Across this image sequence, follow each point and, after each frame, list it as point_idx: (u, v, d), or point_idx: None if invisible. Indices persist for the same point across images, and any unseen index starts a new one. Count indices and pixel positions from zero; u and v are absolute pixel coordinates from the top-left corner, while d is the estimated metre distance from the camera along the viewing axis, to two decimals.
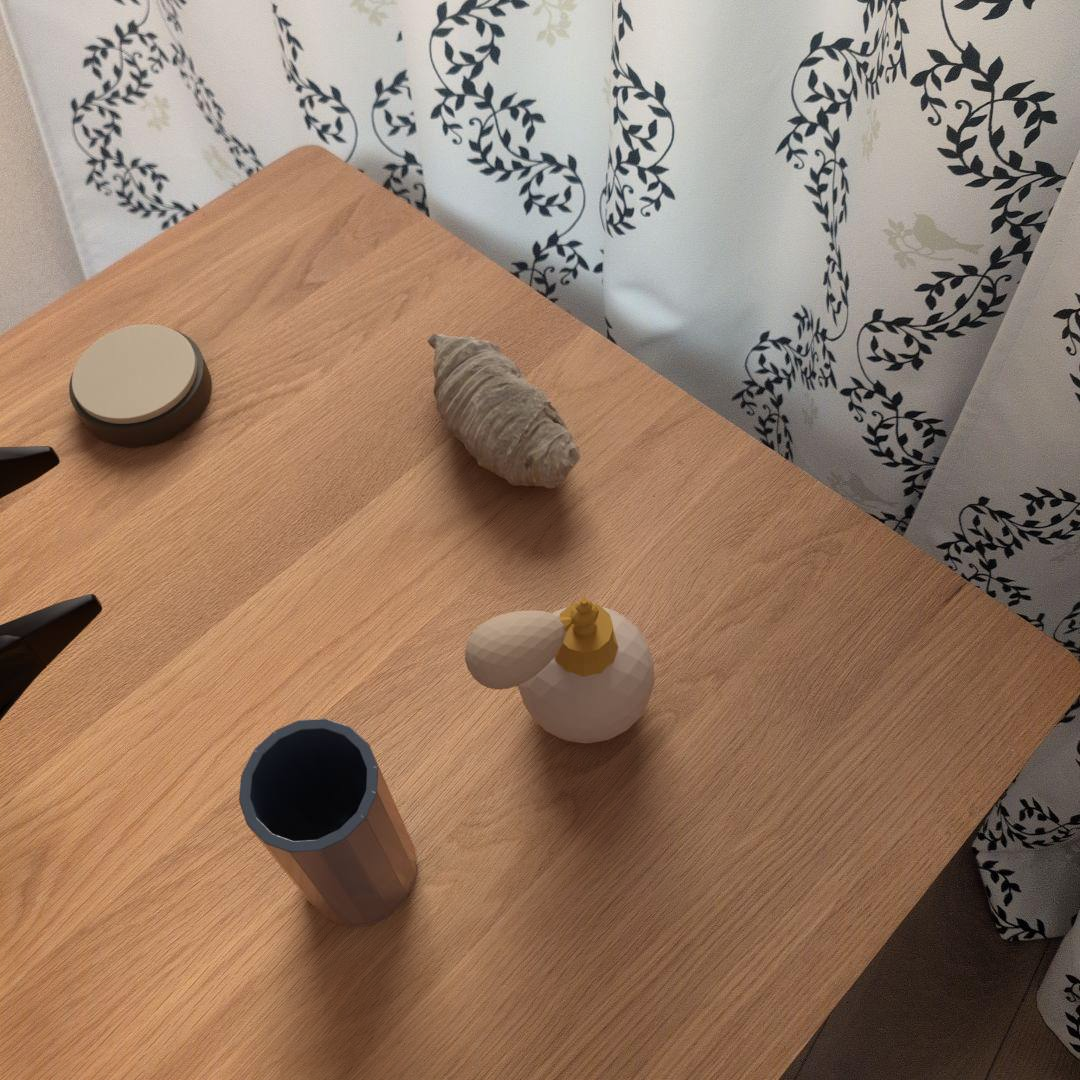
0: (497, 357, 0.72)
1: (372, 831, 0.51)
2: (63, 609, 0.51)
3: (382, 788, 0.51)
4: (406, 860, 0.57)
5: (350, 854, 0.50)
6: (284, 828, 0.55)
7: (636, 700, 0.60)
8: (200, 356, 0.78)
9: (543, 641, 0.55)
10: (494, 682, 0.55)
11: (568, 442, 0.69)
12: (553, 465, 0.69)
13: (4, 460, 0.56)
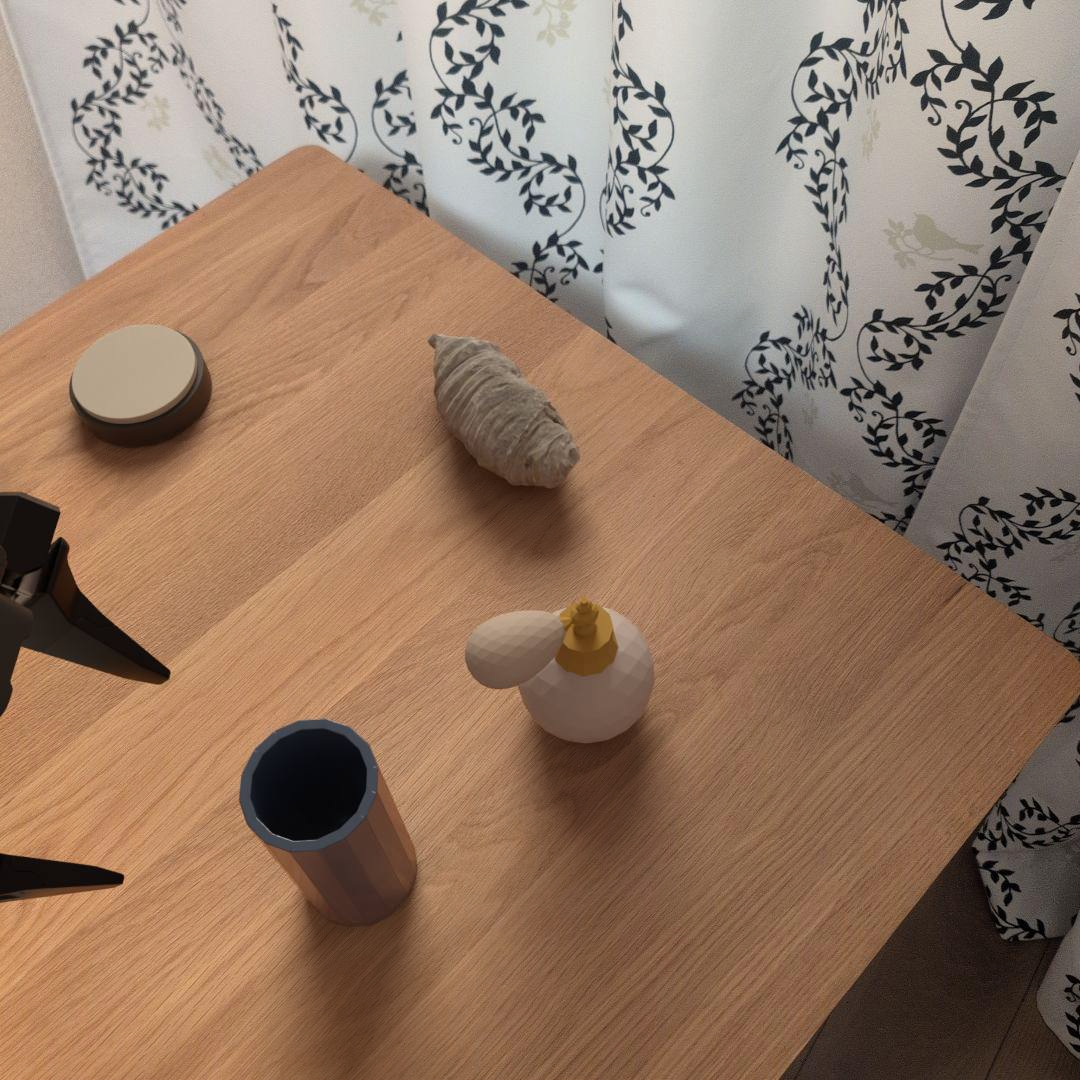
0: (497, 357, 0.72)
1: (372, 831, 0.51)
2: (94, 877, 0.46)
3: (382, 788, 0.51)
4: (406, 860, 0.57)
5: (350, 854, 0.50)
6: (284, 828, 0.55)
7: (636, 700, 0.60)
8: (200, 356, 0.78)
9: (543, 641, 0.55)
10: (494, 682, 0.55)
11: (568, 442, 0.69)
12: (553, 465, 0.69)
13: (129, 658, 0.51)
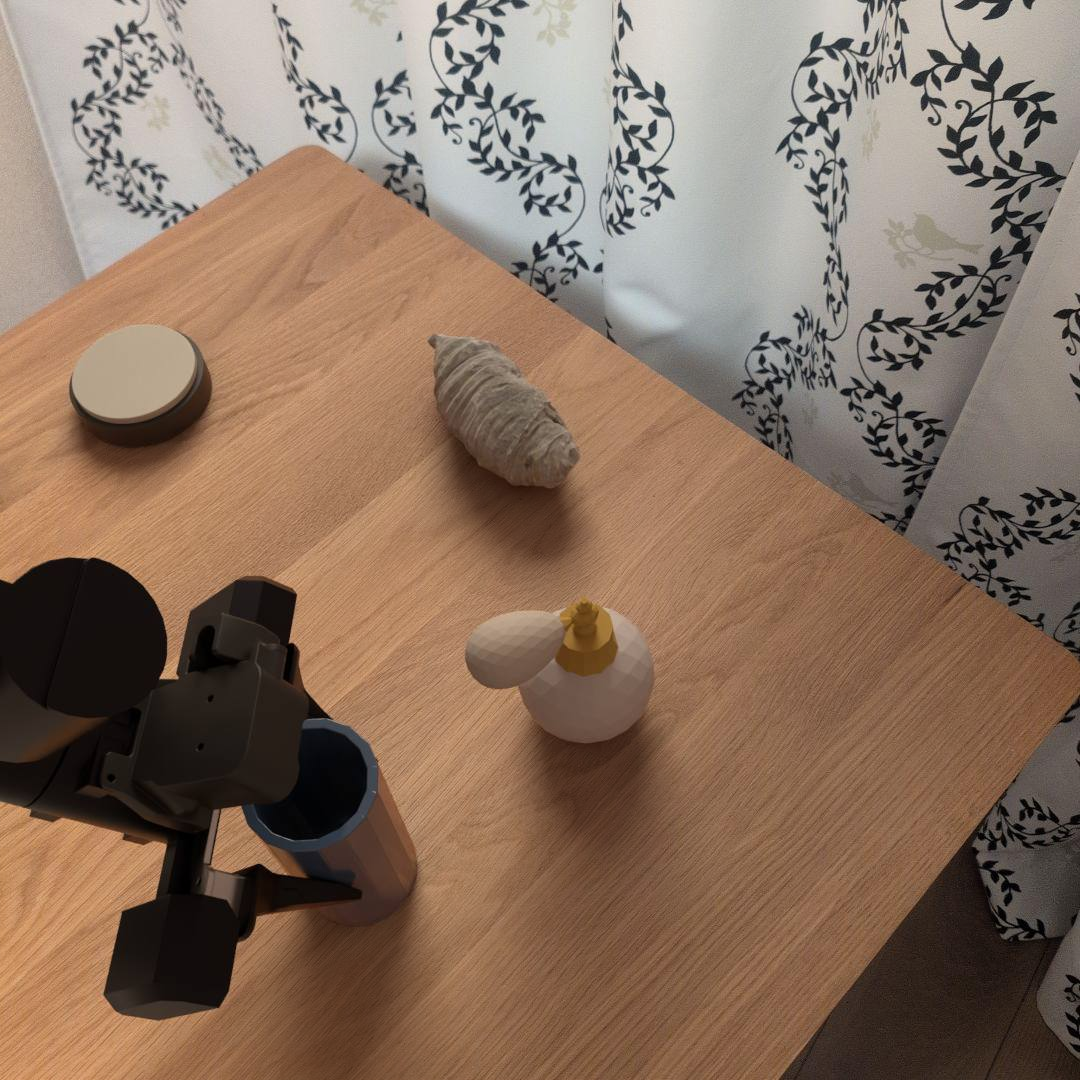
0: (497, 357, 0.72)
1: (372, 830, 0.51)
2: (341, 893, 0.52)
3: (382, 788, 0.51)
4: (406, 860, 0.57)
5: (350, 854, 0.50)
6: (284, 828, 0.55)
7: (636, 700, 0.60)
8: (200, 356, 0.78)
9: (543, 641, 0.55)
10: (494, 682, 0.55)
11: (568, 442, 0.69)
12: (553, 465, 0.69)
13: None
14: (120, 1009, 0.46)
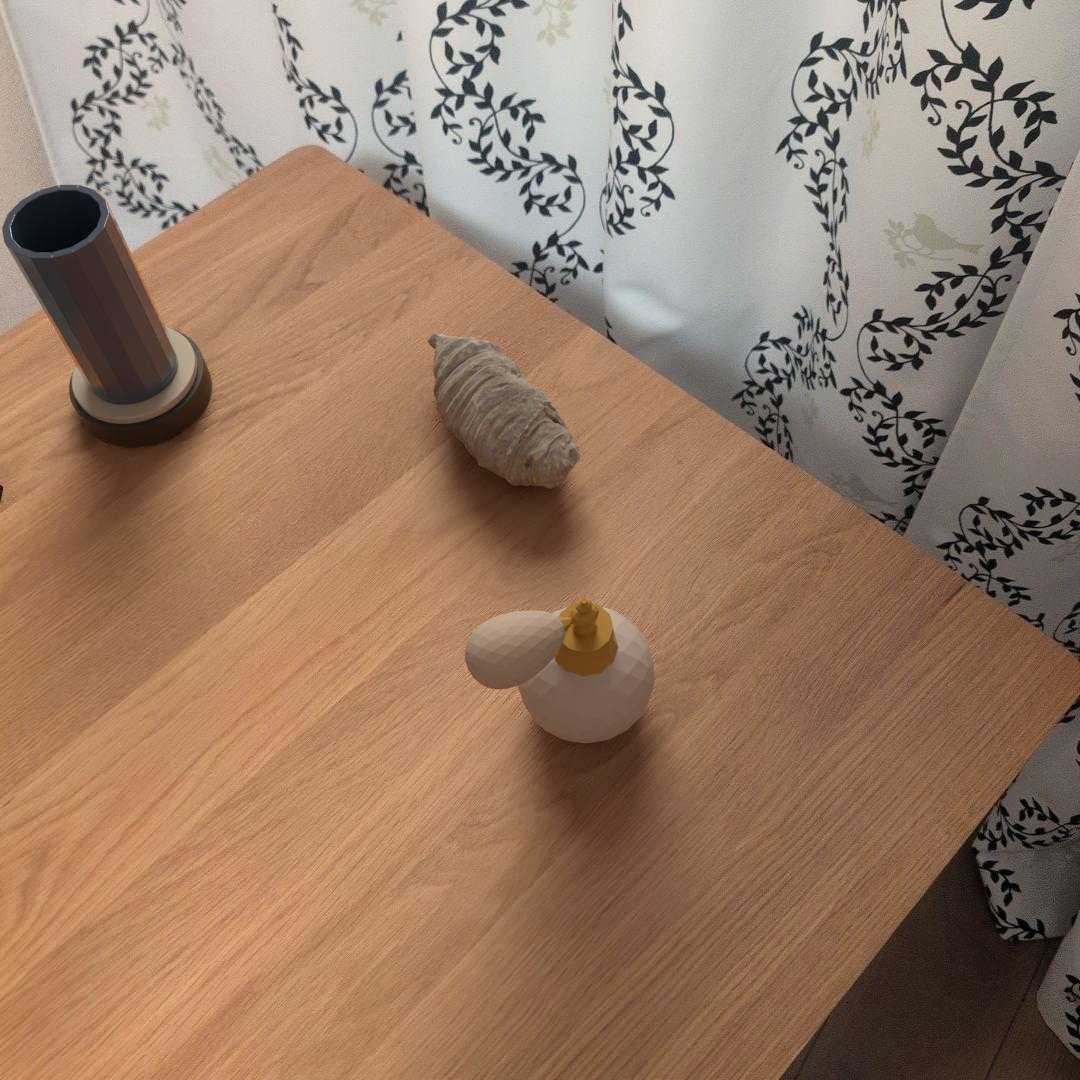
0: (497, 357, 0.72)
1: (117, 224, 0.68)
2: None
3: None
4: None
5: (121, 241, 0.67)
6: None
7: (636, 700, 0.60)
8: (200, 356, 0.78)
9: (543, 641, 0.55)
10: (494, 682, 0.55)
11: (568, 441, 0.69)
12: (553, 465, 0.69)
13: None
14: None
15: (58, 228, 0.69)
